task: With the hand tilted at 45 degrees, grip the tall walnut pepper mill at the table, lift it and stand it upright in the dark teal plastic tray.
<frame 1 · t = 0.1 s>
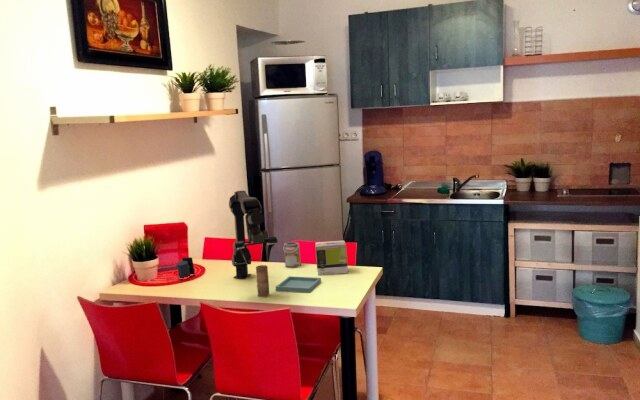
hand: (257, 262, 238), 15 cm above the table, tool pointing down, fingers open, 9 cm apart
speaker: (186, 278, 275), on the table
tea box: (332, 272, 273), on the table
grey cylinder: (292, 266, 287), on the table
pepper mill: (263, 295, 242), on the table
tray: (298, 286, 252), on the table
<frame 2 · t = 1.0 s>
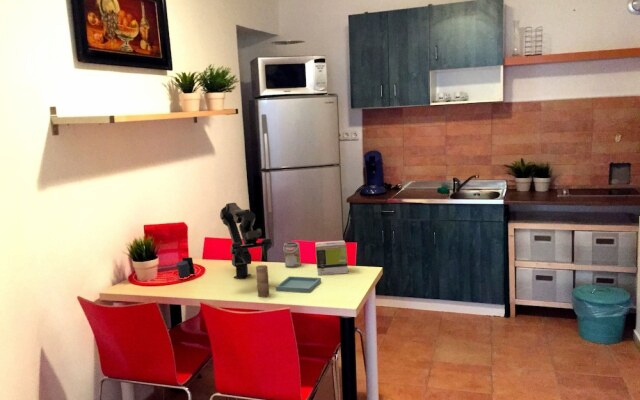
hand: (256, 261, 248), 13 cm above the table, tool tilted 45°, fingers open, 9 cm apart
nothing on the table moved.
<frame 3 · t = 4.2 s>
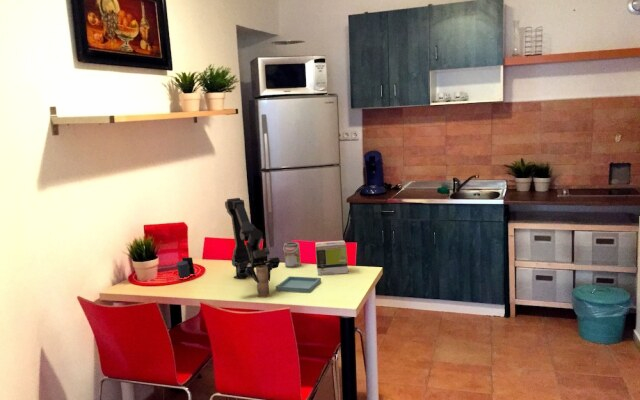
hand: (263, 281, 240), 7 cm above the table, tool tilted 45°, fingers closed on pepper mill, 5 cm apart
pepper mill: (263, 295, 242), on the table, touching gripper
everything else where it was.
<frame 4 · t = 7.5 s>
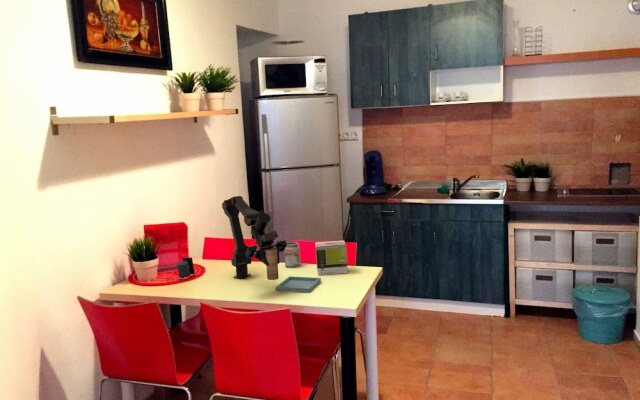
hand: (273, 264, 241), 13 cm above the table, tool tilted 45°, fingers closed on pepper mill, 5 cm apart
pepper mill: (273, 278, 243), point 7 cm above the table, touching gripper
everything else where it was.
when the fingers open (8 cm above the table, at t = 11.0 s): pepper mill stays where it is, resting on tray.
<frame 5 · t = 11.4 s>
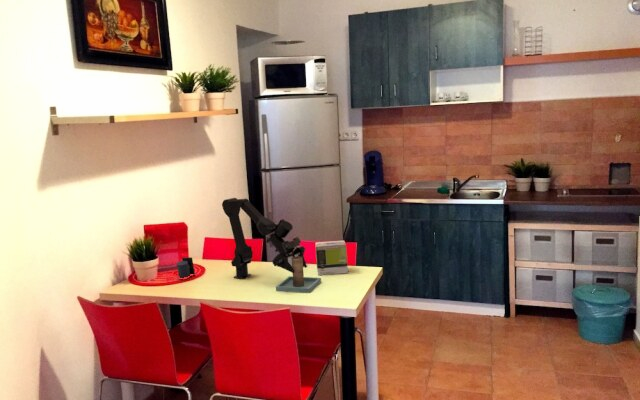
hand: (300, 269, 250), 8 cm above the table, tool tilted 45°, fingers open, 9 cm apart
pepper mill: (298, 285, 252), point 1 cm above the table, touching tray
everything else where it was.
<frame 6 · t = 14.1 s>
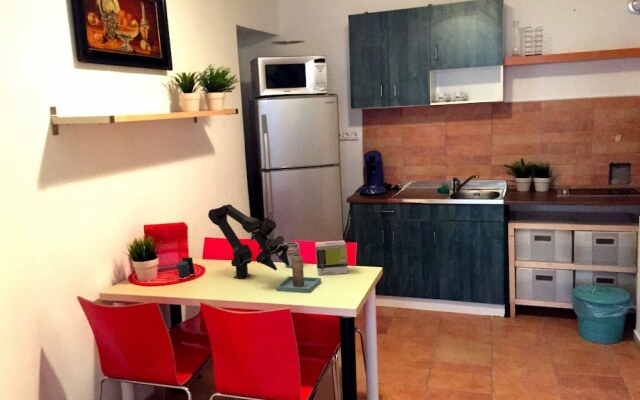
hand: (282, 267, 255), 8 cm above the table, tool tilted 45°, fingers open, 9 cm apart
nothing on the table moved.
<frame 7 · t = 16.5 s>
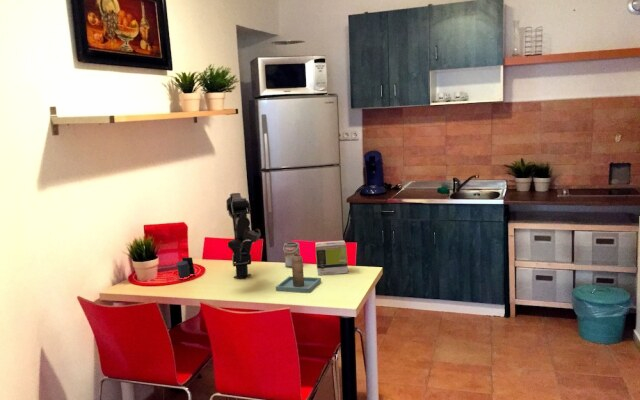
hand: (244, 258, 257), 13 cm above the table, tool pointing down, fingers open, 9 cm apart
nothing on the table moved.
at the end: pepper mill inside the target area on the tray (0.1 cm from its centre), point 0.5 cm above the tray's base; pepper mill tilted 0°; the gripper is holding nothing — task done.
